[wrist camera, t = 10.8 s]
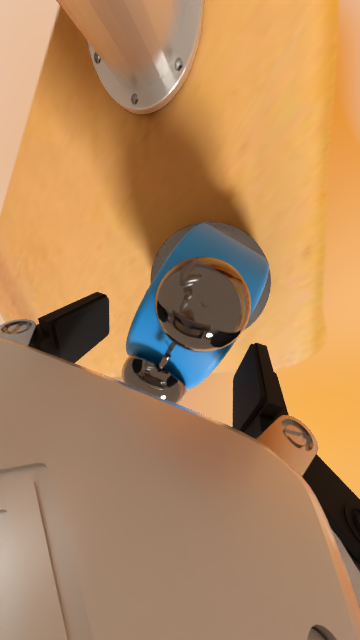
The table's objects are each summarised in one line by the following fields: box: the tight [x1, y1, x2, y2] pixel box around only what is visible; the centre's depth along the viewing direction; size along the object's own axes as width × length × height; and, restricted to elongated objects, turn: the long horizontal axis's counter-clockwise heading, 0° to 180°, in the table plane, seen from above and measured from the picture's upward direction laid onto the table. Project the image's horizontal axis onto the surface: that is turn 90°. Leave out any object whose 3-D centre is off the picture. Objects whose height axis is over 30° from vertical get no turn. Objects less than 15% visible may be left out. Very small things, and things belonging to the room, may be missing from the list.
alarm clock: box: [122, 223, 269, 404], centre depth 15 cm, size 13×6×15 cm, turn 154°
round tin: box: [151, 222, 271, 330], centre depth 24 cm, size 15×15×6 cm
